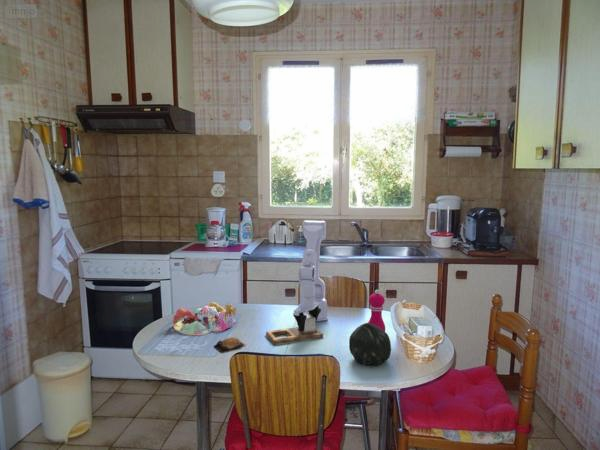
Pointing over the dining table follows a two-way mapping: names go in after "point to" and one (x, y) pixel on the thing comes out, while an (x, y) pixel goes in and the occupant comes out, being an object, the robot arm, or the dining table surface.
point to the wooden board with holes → (291, 335)
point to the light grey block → (309, 325)
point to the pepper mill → (377, 309)
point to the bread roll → (229, 345)
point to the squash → (370, 344)
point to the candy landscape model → (205, 319)
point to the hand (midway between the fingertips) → (307, 328)
